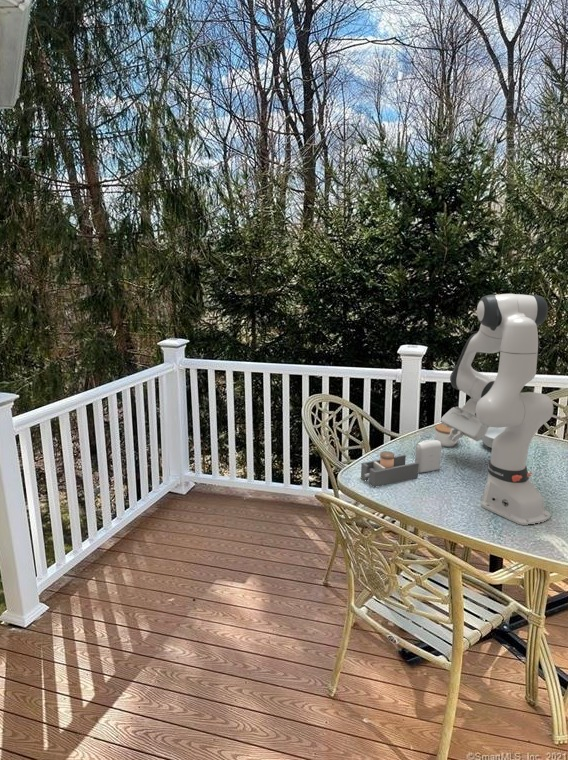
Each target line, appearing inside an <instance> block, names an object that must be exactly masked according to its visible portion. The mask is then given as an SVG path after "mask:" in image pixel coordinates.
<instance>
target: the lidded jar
mask: <svg viewBox="0 0 568 760" xmlns="http://www.w3.org/2000/svg"><path fill="white" fill-rule="evenodd" d="M434 427H435V428H434V430H435V431H434V433H435V440H438V441H440V443H441V447H451V448H452V447H454V446H455V445H456V444H457V443H458V441H459V440H460V438H459V439H457V440H456V441H455V442H453V441H451V440H449V439H448V436H449V435H450V431H451V428H449V427H447V426H445V425H444V424H443V423H438V424H436V425H435V426H434ZM456 434H458V433H457V432H456V433H454V435H456Z"/></svg>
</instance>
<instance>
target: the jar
mask: <svg viewBox="0 0 568 760" xmlns="http://www.w3.org/2000/svg"><path fill="white" fill-rule="evenodd" d="M379 454H380V455H379V457H380V458H379V459H380V465H382V466H383V467H385V468H386V469H387V468H392V467H394V457H395V453H394V452H392V451H387V450H386V451H380V453H379Z"/></svg>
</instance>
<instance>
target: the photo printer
mask: <svg viewBox="0 0 568 760" xmlns="http://www.w3.org/2000/svg"><path fill="white" fill-rule="evenodd" d="M441 459H442V445H441V443H440V441H438V440H437V439H426V440H422V441H419V442H418V443H417V444H416V445H415V459H414V463H416V462H417V463H419V466H418V474H419V473H426V472H433V471H437V470H440V468H441Z"/></svg>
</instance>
